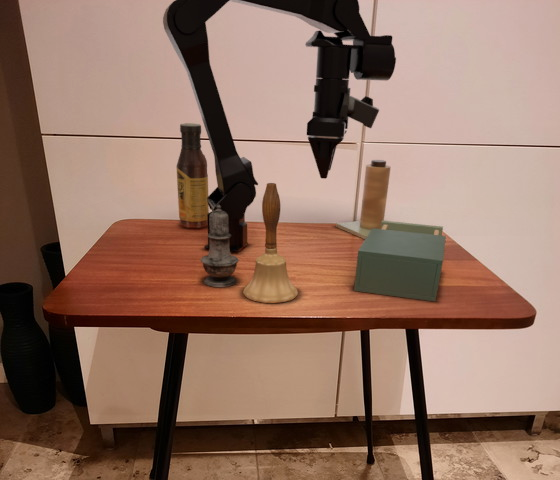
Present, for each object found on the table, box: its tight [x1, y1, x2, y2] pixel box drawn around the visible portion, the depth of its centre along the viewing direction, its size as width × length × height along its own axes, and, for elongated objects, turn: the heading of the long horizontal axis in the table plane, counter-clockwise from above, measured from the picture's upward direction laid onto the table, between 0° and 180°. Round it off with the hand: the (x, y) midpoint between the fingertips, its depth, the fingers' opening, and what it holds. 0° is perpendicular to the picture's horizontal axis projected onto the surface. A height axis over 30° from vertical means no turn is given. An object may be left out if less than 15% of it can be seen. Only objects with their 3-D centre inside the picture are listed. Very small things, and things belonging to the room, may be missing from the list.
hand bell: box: [242, 182, 299, 304], centre depth 79 cm, size 8×8×16 cm
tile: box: [335, 220, 371, 240], centre depth 117 cm, size 11×11×1 cm
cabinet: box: [353, 228, 447, 303], centre depth 88 cm, size 14×12×6 cm
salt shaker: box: [200, 204, 239, 288], centre depth 84 cm, size 6×6×12 cm
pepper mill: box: [359, 159, 391, 230], centre depth 114 cm, size 5×5×13 cm
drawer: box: [381, 220, 444, 236], centre depth 99 cm, size 17×11×5 cm, turn 163°
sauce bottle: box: [176, 122, 210, 229], centre depth 111 cm, size 7×6×20 cm
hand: (325, 174), depth 101 cm, fingers open, 9 cm apart
